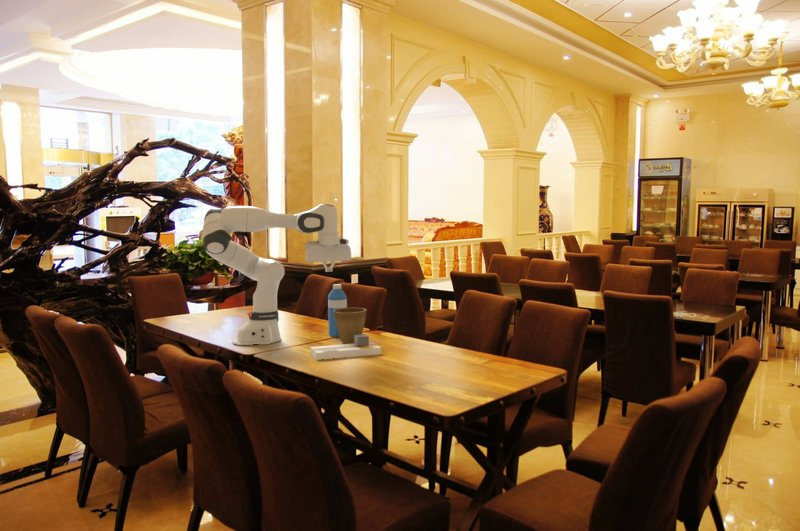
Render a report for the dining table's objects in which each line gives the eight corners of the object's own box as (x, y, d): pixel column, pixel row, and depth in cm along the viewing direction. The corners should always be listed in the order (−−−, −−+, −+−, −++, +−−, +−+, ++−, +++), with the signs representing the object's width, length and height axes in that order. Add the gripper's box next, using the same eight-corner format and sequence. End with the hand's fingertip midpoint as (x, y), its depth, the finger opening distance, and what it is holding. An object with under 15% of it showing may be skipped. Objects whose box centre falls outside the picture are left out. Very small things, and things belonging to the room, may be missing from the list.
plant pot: (363, 340, 294) (363, 306, 292) (369, 346, 279) (368, 311, 278) (332, 341, 291) (331, 307, 289) (336, 348, 276) (335, 313, 275)
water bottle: (349, 333, 311) (348, 283, 308) (345, 336, 301) (344, 285, 299) (330, 332, 312) (329, 283, 309) (326, 336, 302) (325, 285, 300)
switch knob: (357, 350, 265) (357, 337, 264) (354, 347, 269) (354, 334, 269) (368, 349, 266) (368, 336, 266) (365, 346, 271) (365, 334, 271)
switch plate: (316, 360, 255) (316, 352, 255) (310, 353, 267) (310, 346, 266) (381, 354, 265) (381, 346, 265) (372, 348, 276) (372, 341, 276)
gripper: (306, 241, 269) (307, 273, 270) (352, 240, 276) (352, 271, 277) (303, 240, 275) (304, 271, 276) (348, 239, 282) (348, 270, 283)
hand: (328, 271), depth 277 cm, fingers closed
